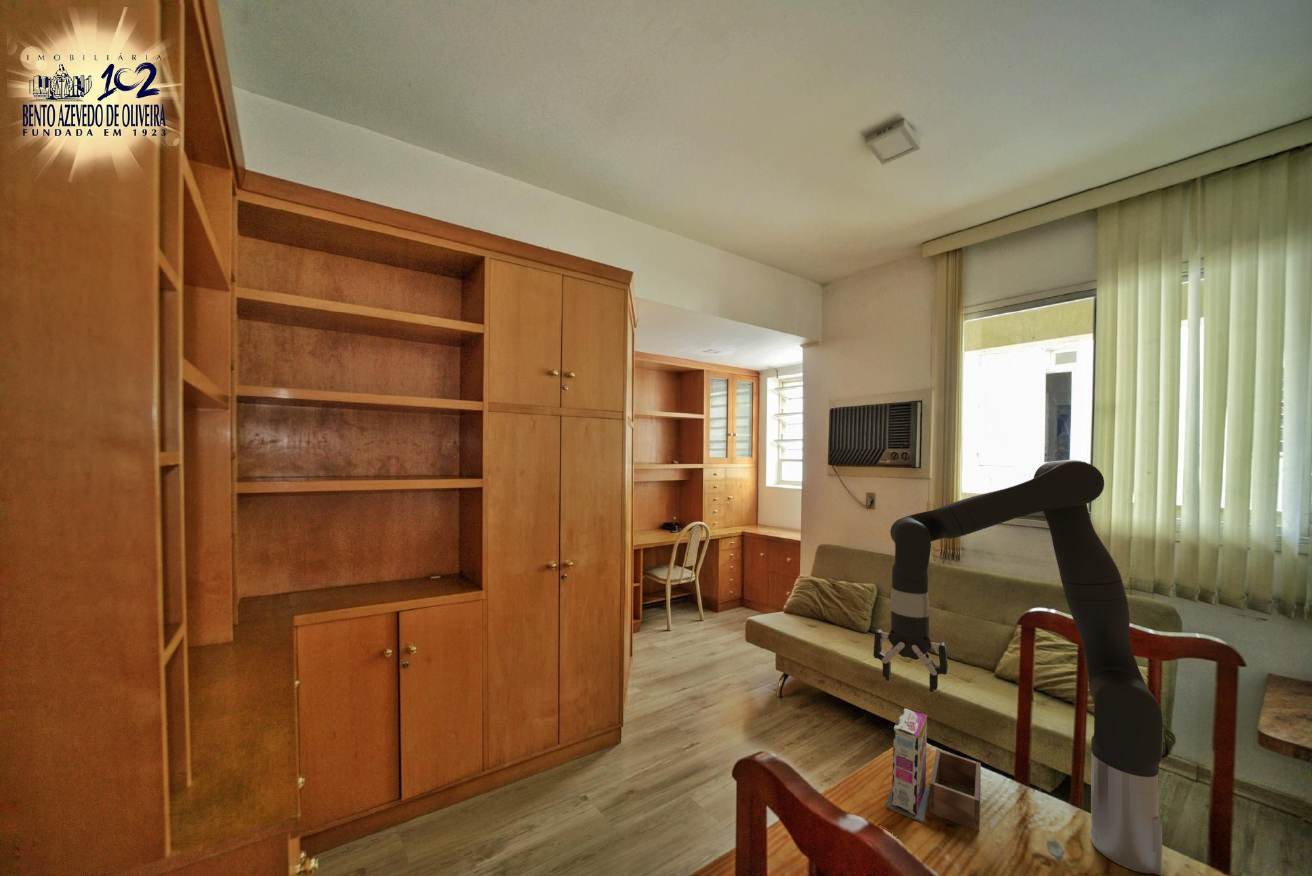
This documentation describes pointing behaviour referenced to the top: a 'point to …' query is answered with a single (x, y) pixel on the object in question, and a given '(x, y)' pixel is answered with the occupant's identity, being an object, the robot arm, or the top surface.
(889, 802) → the grey mat
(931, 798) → the walnut sleeve
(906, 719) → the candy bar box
